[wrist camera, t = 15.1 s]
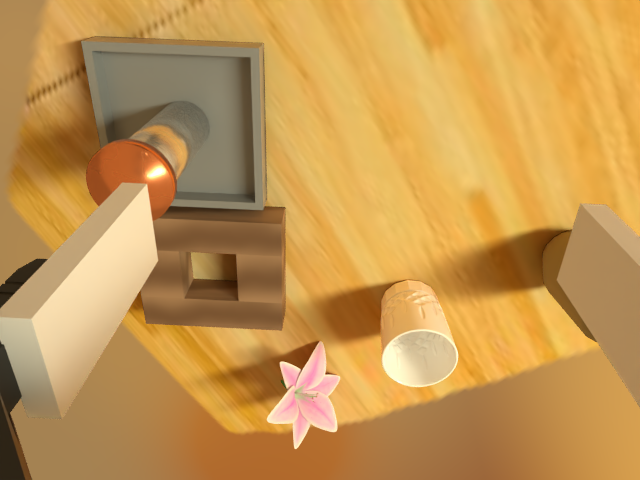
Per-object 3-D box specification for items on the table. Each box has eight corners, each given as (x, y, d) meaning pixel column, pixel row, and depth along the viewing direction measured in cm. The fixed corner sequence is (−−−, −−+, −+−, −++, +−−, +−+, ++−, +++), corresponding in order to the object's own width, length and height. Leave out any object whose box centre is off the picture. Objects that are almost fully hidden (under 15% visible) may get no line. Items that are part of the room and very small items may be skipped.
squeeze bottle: (611, 268, 58) (710, 384, 43) (540, 291, 60) (609, 409, 45) (599, 209, 55) (701, 312, 39) (523, 236, 57) (592, 343, 41)
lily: (333, 406, 73) (362, 441, 64) (252, 427, 69) (271, 467, 60) (328, 326, 70) (357, 351, 61) (244, 343, 66) (262, 372, 58)
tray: (95, 36, 48) (80, 41, 46) (263, 43, 48) (259, 48, 45) (121, 191, 56) (111, 203, 54) (267, 198, 56) (263, 210, 53)
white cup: (411, 263, 59) (422, 316, 50) (455, 302, 62) (473, 359, 53) (362, 302, 62) (365, 359, 53) (406, 338, 65) (416, 398, 56)
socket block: (141, 200, 57) (127, 216, 53) (285, 207, 56) (281, 224, 53) (156, 303, 63) (146, 323, 60) (285, 309, 63) (282, 330, 60)
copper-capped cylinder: (148, 92, 50) (78, 142, 36) (214, 94, 50) (167, 146, 36) (157, 154, 53) (94, 222, 40) (218, 157, 53) (176, 225, 39)
